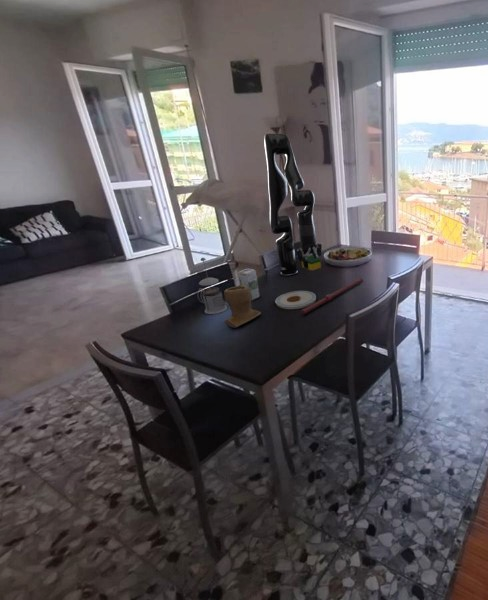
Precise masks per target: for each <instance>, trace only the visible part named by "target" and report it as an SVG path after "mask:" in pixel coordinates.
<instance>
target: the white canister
mask: <svg viewBox="0 0 488 600" xmlns="http://www.w3.org/2000/svg"><path fill="white" fill-rule="evenodd" d="M237 274H238V279H239V286H247V287H248V288H249V290H250V293H251V302H252V301H254V300H257V299H259V298H260V297H261V293H260V287H259V281H258V276H257V271H256V270H255V269H253V268H245V269H242V270H240V271H239V270H238V271H237Z"/></svg>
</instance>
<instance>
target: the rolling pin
mask: <svg viewBox="0 0 488 600" xmlns="http://www.w3.org/2000/svg"><path fill="white" fill-rule="evenodd" d="M363 280H364V279H363V278H362V277H359V278H357V279H356V280H353V281H351V282H350V283H348V284H346V285H345V286H343V287H341V288H339V289H338V290H336V291H333V292H332V293H330V294H326V295H325V296H324V297H323V298H321V299H319V300H318V301H315V302H314V303H313V304H311V305H309V306H307V307H304V308H302V310H300V311H301V314H302V315H303V316H305V315H307V314H308V313H310V312H312V311H314V310H315V309H317V308H318V307H319V308H320V307H321V306H322V305H324V304H326V303H329V302H331V301H333V299H334V298H336V297H338V296H339V295H342V294H343V293H345V292H347V291H349V290H350V289H352V288H354V287H355V286H357V285H358V284H361V283H362V282H363Z"/></svg>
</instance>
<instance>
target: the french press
mask: <svg viewBox="0 0 488 600" xmlns="http://www.w3.org/2000/svg"><path fill="white" fill-rule="evenodd" d="M200 261H201V262H203V265H204V266H203V267H204V270H205V273H206V278H203V279H202V280H200V281H199V282H198V285H199V286H201V287H200V288H199V289H198V291H197V294H199V292H200V294H202V296H200V297H199V296H197V299H198V301H199V302H200V303H201V304H204V306H205V309H204V314H207V315H215V314H220V313H222V312H224V311H226V310H227V309H228V306H227V304H225V301H224V298H223V293H222V291H221V288H220V287H217V286H214V285H216V284H217V283H219V281H220V280H219V278H215V277H209V275H208V272H207V268H206V265H205V261H206V258H205V257H201V258H200ZM208 286H209V287H208ZM212 286H213V287H212ZM202 287H207V288H202ZM200 290H201V291H200Z"/></svg>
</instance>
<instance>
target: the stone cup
mask: <svg viewBox="0 0 488 600" xmlns="http://www.w3.org/2000/svg"><path fill="white" fill-rule="evenodd" d="M223 292H224V293H223V294H224V295H223V296H224V299H225V300H224V301H225V302H226V304H227V305H228V307H229V310H230V311H231V315H230V316H229V317H227V318H226V319H224V323H225V324H226V325H228V326H229V327H230V328H232V329H234V328H235V329H237V328H239V327H241V326H242V325H244V324H246V323H248V322H250V321H252V320H254V319H256V318H257V317H259V316H260V315H261V314H262V312H261V311H259V310H256V309H252V301H251V293H250V290H249V288H248V287H247V286H241V285H236V286H232V287H229V288H226V289H225V290H224V291H223Z"/></svg>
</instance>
